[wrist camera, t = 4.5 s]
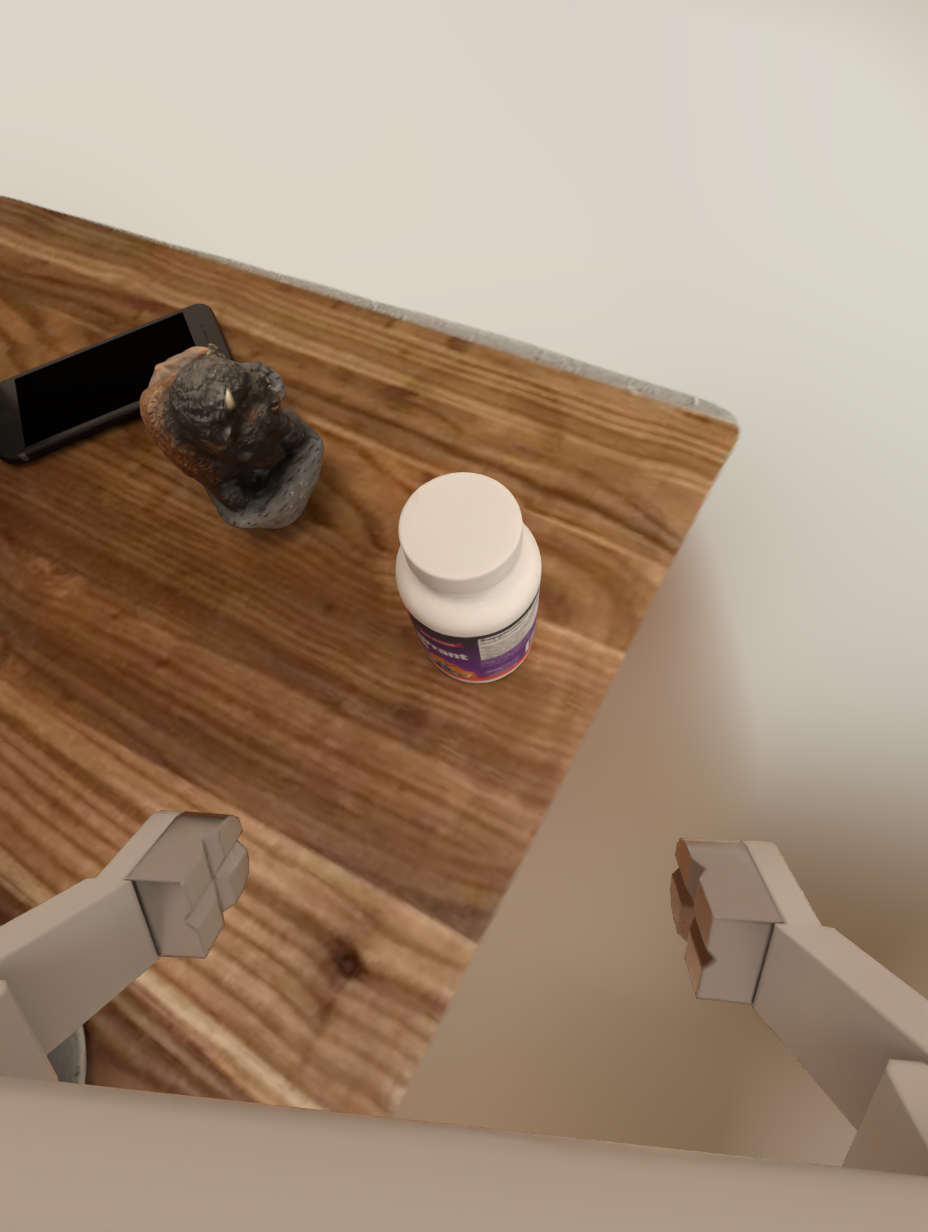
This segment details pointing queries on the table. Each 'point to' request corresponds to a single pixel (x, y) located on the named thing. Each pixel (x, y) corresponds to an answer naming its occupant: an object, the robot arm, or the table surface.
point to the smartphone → (95, 384)
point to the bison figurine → (234, 436)
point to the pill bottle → (469, 576)
